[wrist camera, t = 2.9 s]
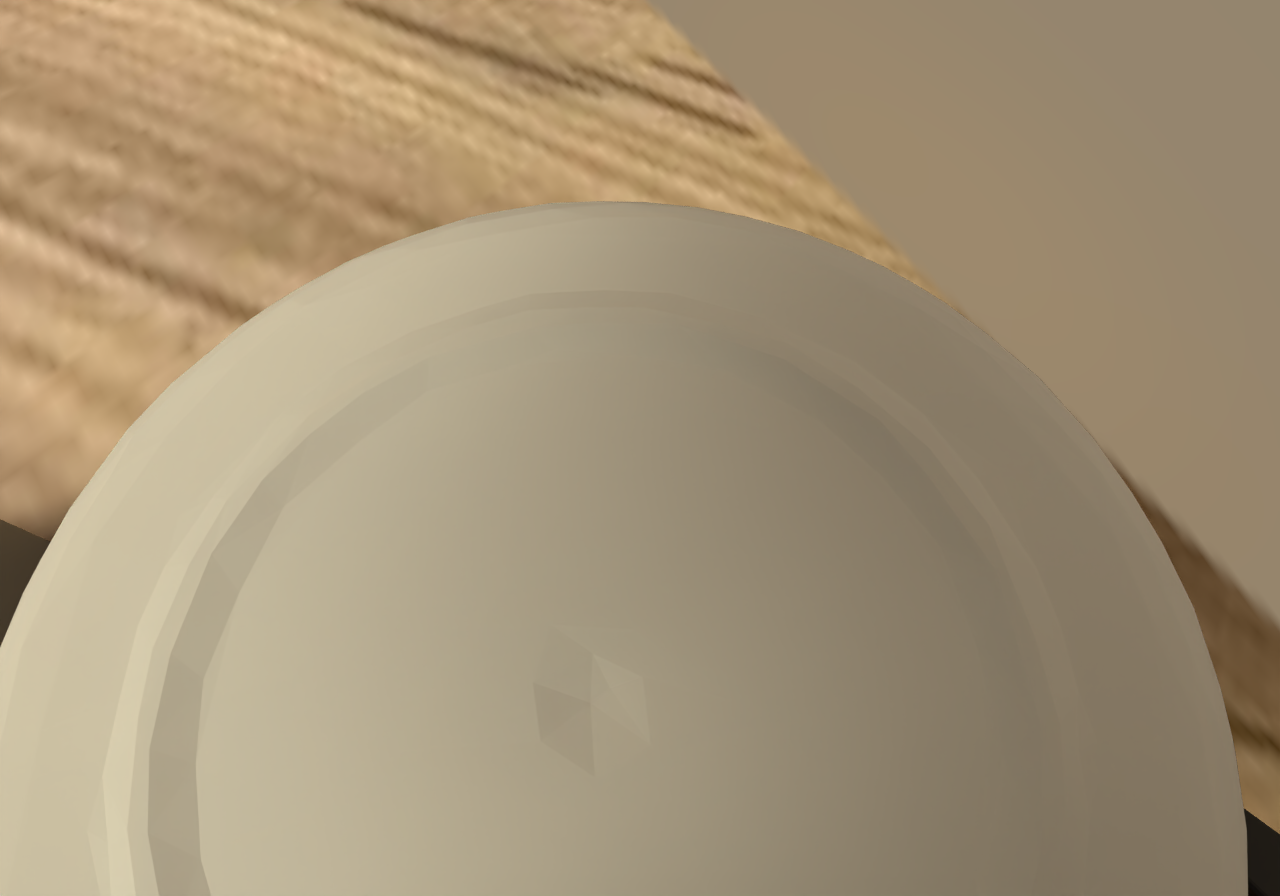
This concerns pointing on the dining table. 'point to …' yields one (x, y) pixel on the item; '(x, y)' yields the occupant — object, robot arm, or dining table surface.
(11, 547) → the tray
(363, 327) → the sprinkles bottle
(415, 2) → the dining table surface
